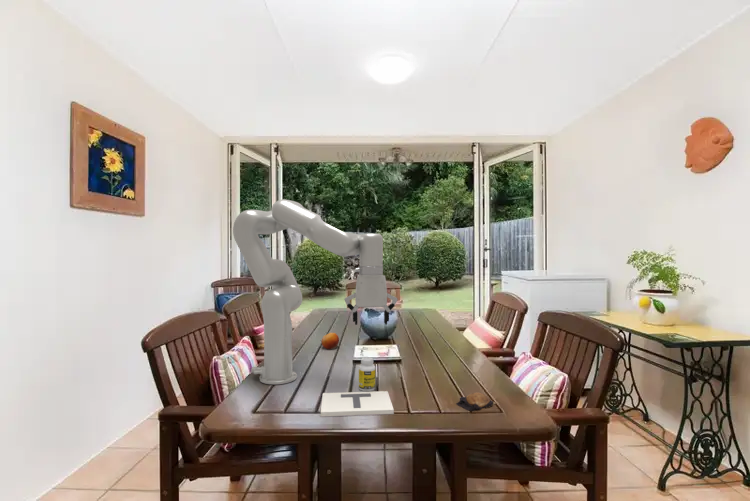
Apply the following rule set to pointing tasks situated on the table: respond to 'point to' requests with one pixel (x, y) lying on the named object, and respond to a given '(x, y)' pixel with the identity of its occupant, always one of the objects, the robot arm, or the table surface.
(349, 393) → the board
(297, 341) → the table surface
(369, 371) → the supplement bottle
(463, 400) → the cookie on black wrapper
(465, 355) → the table surface
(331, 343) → the fruit
